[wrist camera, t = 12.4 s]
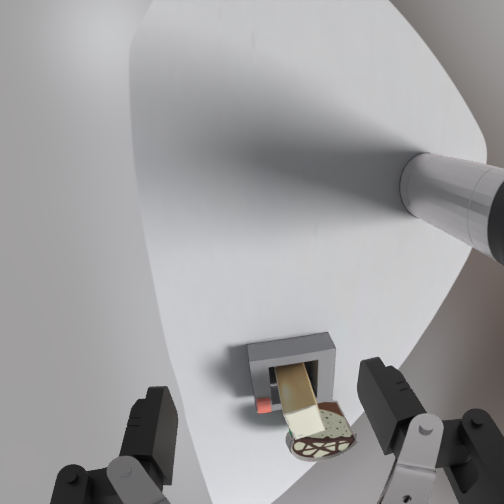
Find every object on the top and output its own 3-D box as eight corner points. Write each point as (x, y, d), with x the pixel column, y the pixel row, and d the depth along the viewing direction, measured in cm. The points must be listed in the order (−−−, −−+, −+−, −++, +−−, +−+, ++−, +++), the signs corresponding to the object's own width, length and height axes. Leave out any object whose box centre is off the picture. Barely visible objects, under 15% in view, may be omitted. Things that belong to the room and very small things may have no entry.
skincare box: (308, 374, 48) (326, 431, 37) (282, 383, 48) (295, 441, 37) (298, 346, 46) (317, 405, 34) (270, 355, 46) (282, 416, 35)
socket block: (328, 332, 45) (337, 350, 41) (325, 384, 49) (333, 403, 45) (247, 344, 45) (249, 364, 41) (254, 395, 49) (257, 415, 44)
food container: (269, 418, 51) (276, 463, 42) (280, 396, 49) (290, 442, 40) (330, 422, 53) (343, 462, 44) (343, 401, 51) (360, 442, 42)
